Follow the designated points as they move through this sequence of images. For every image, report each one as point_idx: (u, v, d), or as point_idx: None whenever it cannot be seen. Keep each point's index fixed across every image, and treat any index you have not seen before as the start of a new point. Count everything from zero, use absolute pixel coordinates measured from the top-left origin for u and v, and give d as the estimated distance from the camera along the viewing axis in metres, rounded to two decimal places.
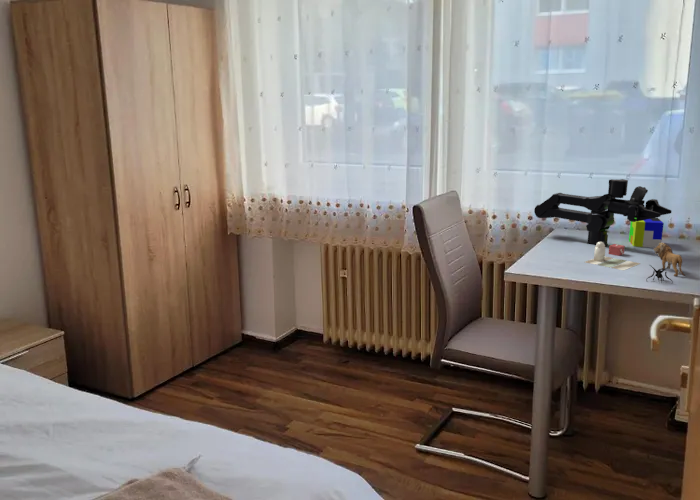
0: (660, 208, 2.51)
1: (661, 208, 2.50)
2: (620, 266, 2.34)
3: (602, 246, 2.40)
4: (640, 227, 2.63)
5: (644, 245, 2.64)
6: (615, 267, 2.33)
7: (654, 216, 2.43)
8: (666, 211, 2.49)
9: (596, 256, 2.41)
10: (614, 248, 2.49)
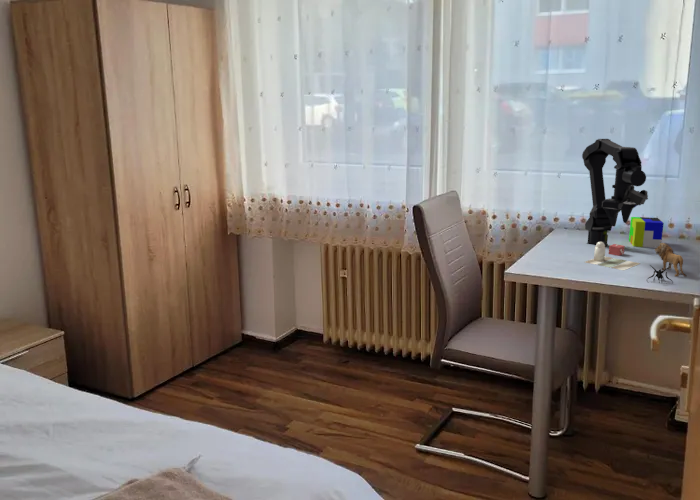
0: (628, 212, 2.50)
1: (628, 213, 2.50)
2: (620, 266, 2.34)
3: (602, 246, 2.40)
4: (640, 227, 2.63)
5: (644, 245, 2.64)
6: (615, 267, 2.33)
7: (611, 221, 2.45)
8: (625, 218, 2.51)
9: (596, 256, 2.41)
10: (614, 248, 2.49)
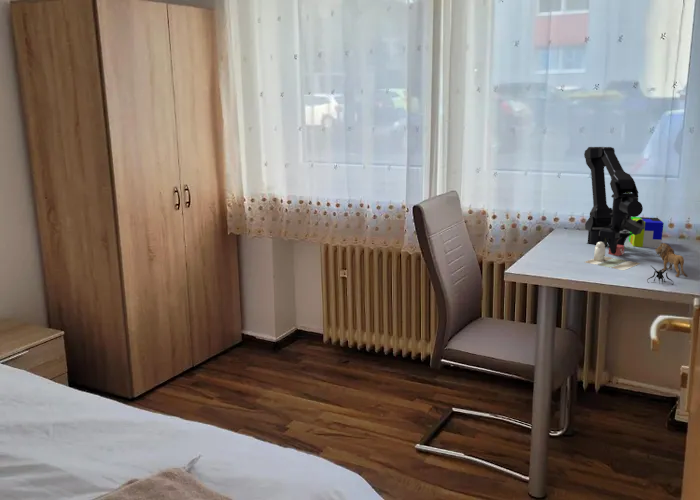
0: (622, 241, 2.51)
1: (622, 242, 2.51)
2: (620, 266, 2.34)
3: (602, 246, 2.40)
4: None
5: (644, 245, 2.64)
6: (615, 267, 2.33)
7: (611, 249, 2.49)
8: None
9: (596, 256, 2.41)
10: None
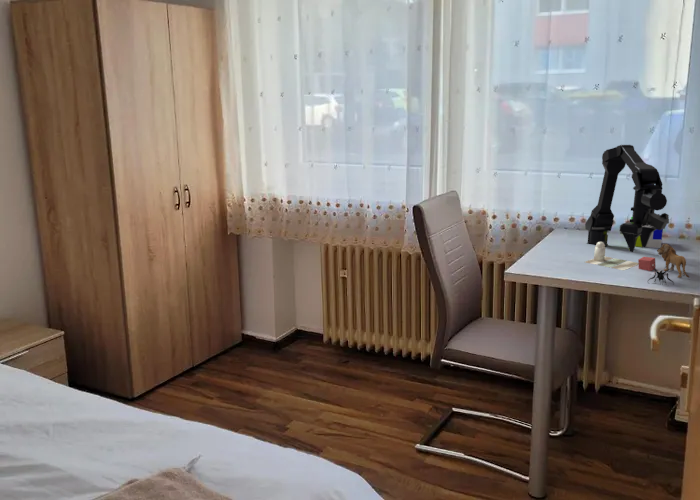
0: (647, 236, 2.34)
1: (647, 237, 2.34)
2: (620, 266, 2.34)
3: (602, 246, 2.40)
4: None
5: None
6: (615, 267, 2.33)
7: (629, 246, 2.29)
8: (643, 242, 2.35)
9: (596, 256, 2.41)
10: (648, 267, 2.29)
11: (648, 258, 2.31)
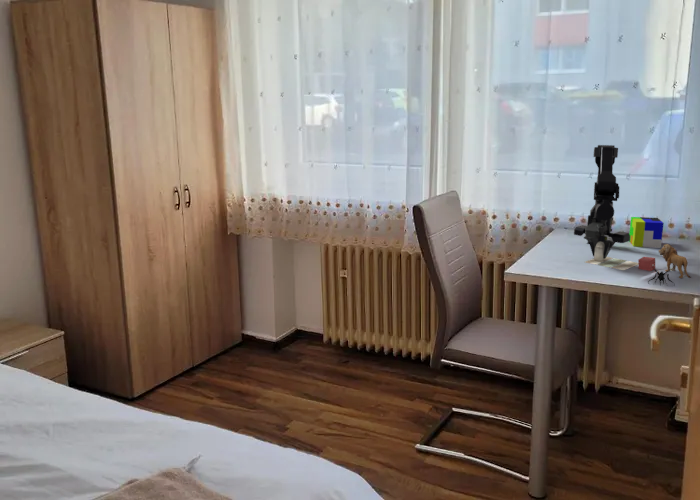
0: None
1: None
2: (620, 266, 2.34)
3: (602, 246, 2.40)
4: (640, 227, 2.63)
5: (644, 245, 2.64)
6: (615, 267, 2.33)
7: None
8: None
9: (596, 256, 2.41)
10: (648, 267, 2.29)
11: (648, 258, 2.31)
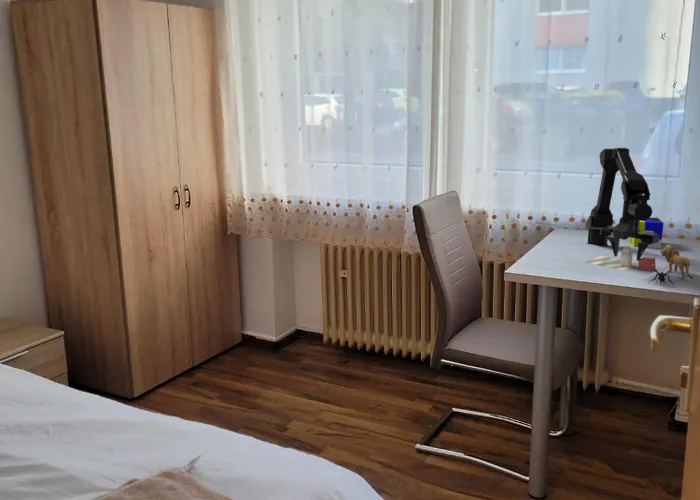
0: None
1: None
2: (620, 266, 2.34)
3: (629, 251, 2.33)
4: (640, 227, 2.63)
5: None
6: (615, 267, 2.33)
7: None
8: None
9: (623, 261, 2.34)
10: (648, 267, 2.29)
11: (648, 258, 2.31)
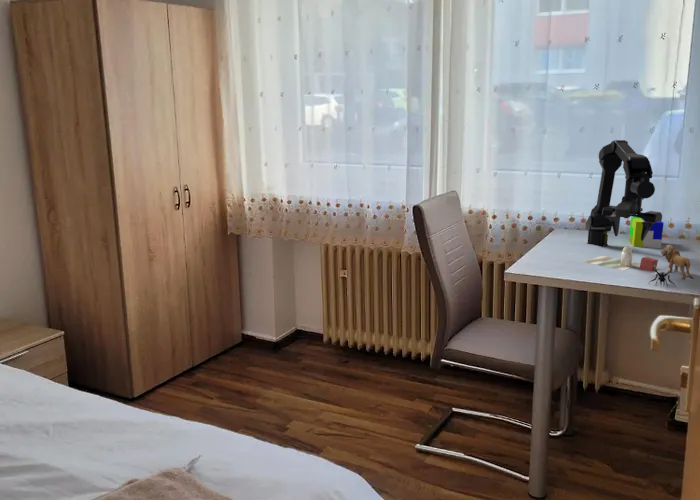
0: None
1: None
2: (620, 266, 2.34)
3: (629, 251, 2.33)
4: (640, 227, 2.63)
5: (644, 245, 2.64)
6: (615, 267, 2.33)
7: None
8: None
9: (623, 261, 2.34)
10: (650, 266, 2.29)
11: (651, 258, 2.31)
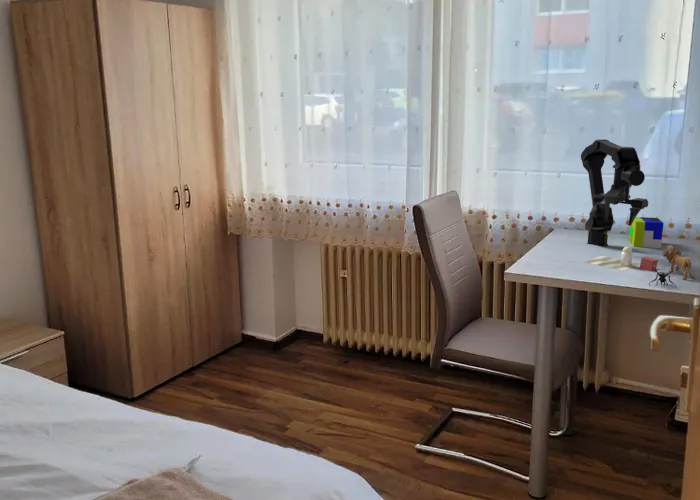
0: None
1: None
2: (620, 266, 2.34)
3: (629, 251, 2.33)
4: (640, 227, 2.63)
5: (644, 245, 2.64)
6: (615, 267, 2.33)
7: None
8: None
9: (623, 261, 2.34)
10: (650, 266, 2.29)
11: (651, 258, 2.31)
